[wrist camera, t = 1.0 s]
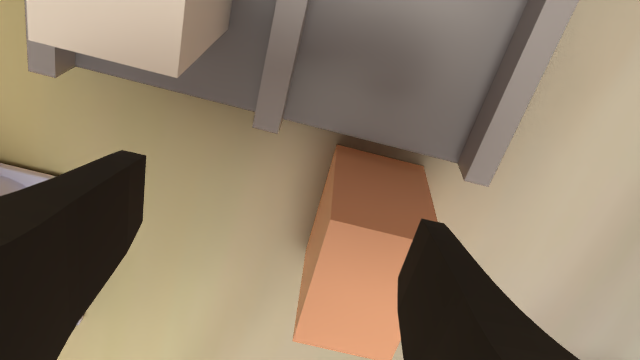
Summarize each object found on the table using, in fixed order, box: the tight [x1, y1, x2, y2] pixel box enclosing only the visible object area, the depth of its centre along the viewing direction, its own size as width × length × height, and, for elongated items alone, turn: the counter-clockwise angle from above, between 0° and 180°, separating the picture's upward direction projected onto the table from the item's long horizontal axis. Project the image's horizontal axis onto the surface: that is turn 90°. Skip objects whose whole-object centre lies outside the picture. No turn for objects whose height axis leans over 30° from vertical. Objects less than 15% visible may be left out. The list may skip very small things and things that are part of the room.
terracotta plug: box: [293, 145, 437, 360], centre depth 21 cm, size 6×4×6 cm, turn 166°
